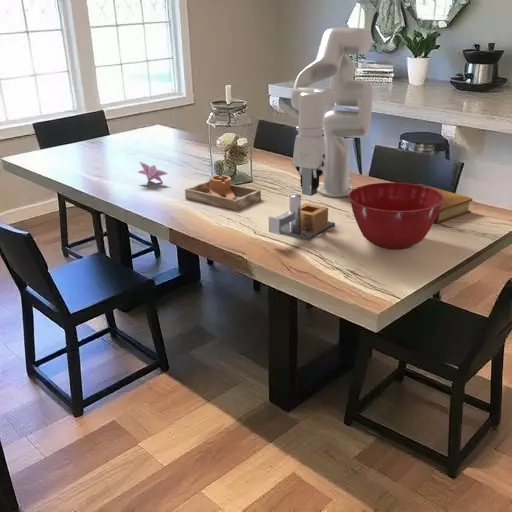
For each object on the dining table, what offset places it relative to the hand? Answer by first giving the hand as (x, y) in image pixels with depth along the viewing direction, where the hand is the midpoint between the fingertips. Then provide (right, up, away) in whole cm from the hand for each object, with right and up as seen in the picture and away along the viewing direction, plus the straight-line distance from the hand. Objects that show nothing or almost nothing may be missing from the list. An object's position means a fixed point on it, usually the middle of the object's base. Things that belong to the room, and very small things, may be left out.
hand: (309, 187), depth 206 cm
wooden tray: (-30, -1, +34) cm, 46 cm away
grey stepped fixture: (-4, -15, 0) cm, 16 cm away
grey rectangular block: (0, -2, +1) cm, 2 cm away
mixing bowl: (+25, -18, -8) cm, 32 cm away
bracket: (-31, -1, +35) cm, 46 cm away
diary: (+43, -7, +18) cm, 48 cm away
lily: (-60, +7, +54) cm, 81 cm away
